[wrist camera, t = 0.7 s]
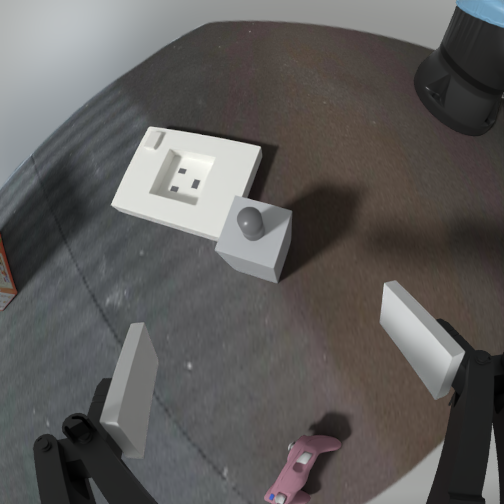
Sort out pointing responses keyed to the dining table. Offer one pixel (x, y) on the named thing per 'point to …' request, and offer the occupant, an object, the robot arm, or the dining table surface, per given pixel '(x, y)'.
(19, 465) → the dining table surface
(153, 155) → the socket plate
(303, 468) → the video game controller
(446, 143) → the dining table surface
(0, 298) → the cracker box
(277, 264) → the plug
